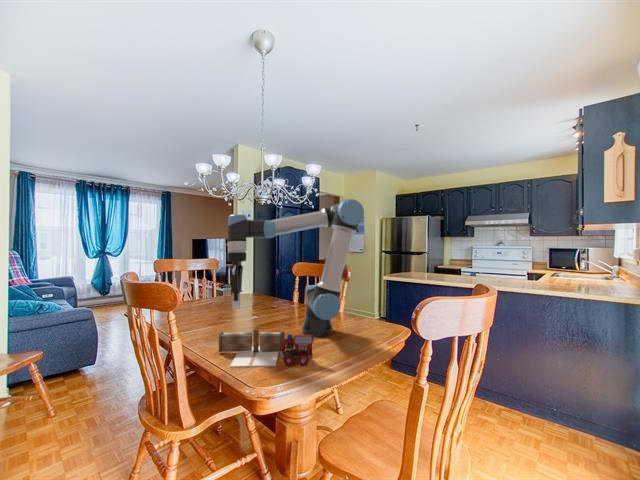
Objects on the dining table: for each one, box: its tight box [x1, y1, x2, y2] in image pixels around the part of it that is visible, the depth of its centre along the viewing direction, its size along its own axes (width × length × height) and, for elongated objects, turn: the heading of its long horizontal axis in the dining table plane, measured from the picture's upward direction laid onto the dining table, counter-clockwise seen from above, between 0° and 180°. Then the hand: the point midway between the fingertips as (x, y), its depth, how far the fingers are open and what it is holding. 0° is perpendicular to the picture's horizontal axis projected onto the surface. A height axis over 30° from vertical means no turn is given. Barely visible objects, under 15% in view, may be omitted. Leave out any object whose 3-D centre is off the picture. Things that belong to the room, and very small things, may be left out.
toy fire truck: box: [278, 333, 314, 367], centre depth 105 cm, size 7×12×10 cm, turn 87°
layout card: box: [229, 345, 279, 368], centre depth 111 cm, size 16×19×1 cm
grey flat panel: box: [218, 331, 253, 353], centre depth 114 cm, size 13×2×7 cm, turn 94°
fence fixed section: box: [252, 328, 286, 352], centre depth 115 cm, size 12×2×9 cm, turn 94°
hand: (236, 308), depth 120 cm, fingers closed
